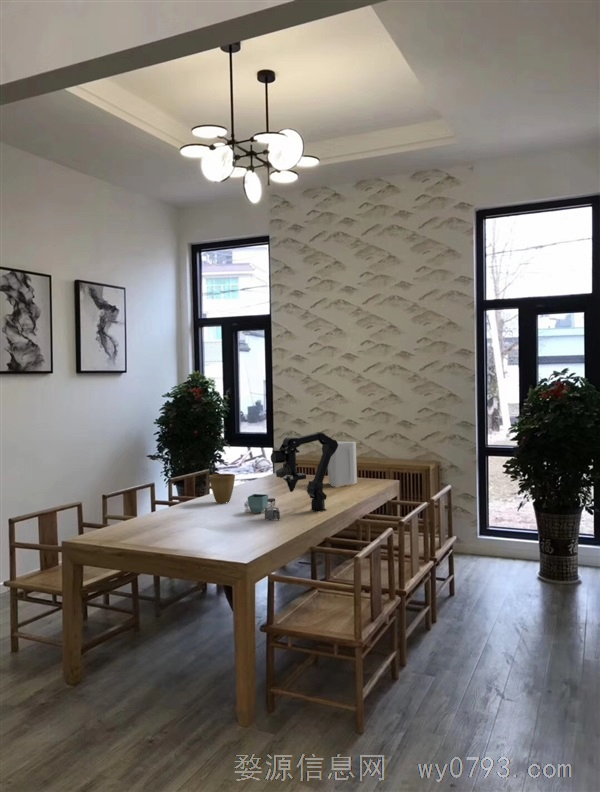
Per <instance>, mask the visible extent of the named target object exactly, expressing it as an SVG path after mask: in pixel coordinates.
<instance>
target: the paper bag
mask: <svg viewBox="0 0 600 792" xmlns="http://www.w3.org/2000/svg"><path fill="white" fill-rule="evenodd" d="M337 443H338V448H337V450H336V452H335V453H334V454H333V455H332V456H331V458H330V461H329V464H328V467H327V470H328V471H327V472H328V484H329V483H330V484H331V485H332V486H339V485H347V484H355V483H357V484H358V479H357V478H358V476H357V475H358V474H357V473H358V472H357V471H358V470H357V469H358V468H357V444H356V443H357V442H356V441H337Z"/></svg>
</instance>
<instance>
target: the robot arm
mask: <svg viewBox="0 0 600 792" xmlns="http://www.w3.org/2000/svg"><path fill="white" fill-rule="evenodd" d="M316 441H318V443H320V445H321V451H322V455H321V458H320V461H319V463H318V467H317V470H316V472H315V475H314V478H313V479H312V480H309V481H308V483H307V487H306V492H307V494H308V496H309V498H310V499H311V502H310V503H311V507H310V511H311V510H313V511H312V512H316V511H317V513H318V511H320V512H323V510H325V511H327V508H326V505H325V500H327V497H328V496H327V494H326V493H325V492H324V478H325V476H326V473H327V470H328V464H329V461H330V458H331V456H332V455H333V454H334V453H335V452H336V450H337V448H338V443H337V442H338V440H336V439H333V438H332V437H329V436H328V435H327V434H325V433H324V432H323V431H317V432H313V433H311V434H305V435H302V436H297V437H296V436H295V437H293V436H291V437H290V436H289V437H284V439H282V443H281V445H280V447H279V449H278V450H277V449H272V453H271V454H270V463H272V464H274V465H275V464H282V463H283V464H282V467H281V468H279V469H276V470H275V475H276V477H277V478H281V479H283V480H284V481H285V482H286V484H287V487H288V490H289V492H290V493H292V492H294V490H295V488H296V486H297V484H298V481H301V480H307V475H306V473H302V472H299V471H297V466H299V464H298V463H297V453H300V450H298V448H299V447H300V446H302V445H304V444H308V443H313V442H316Z"/></svg>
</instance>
